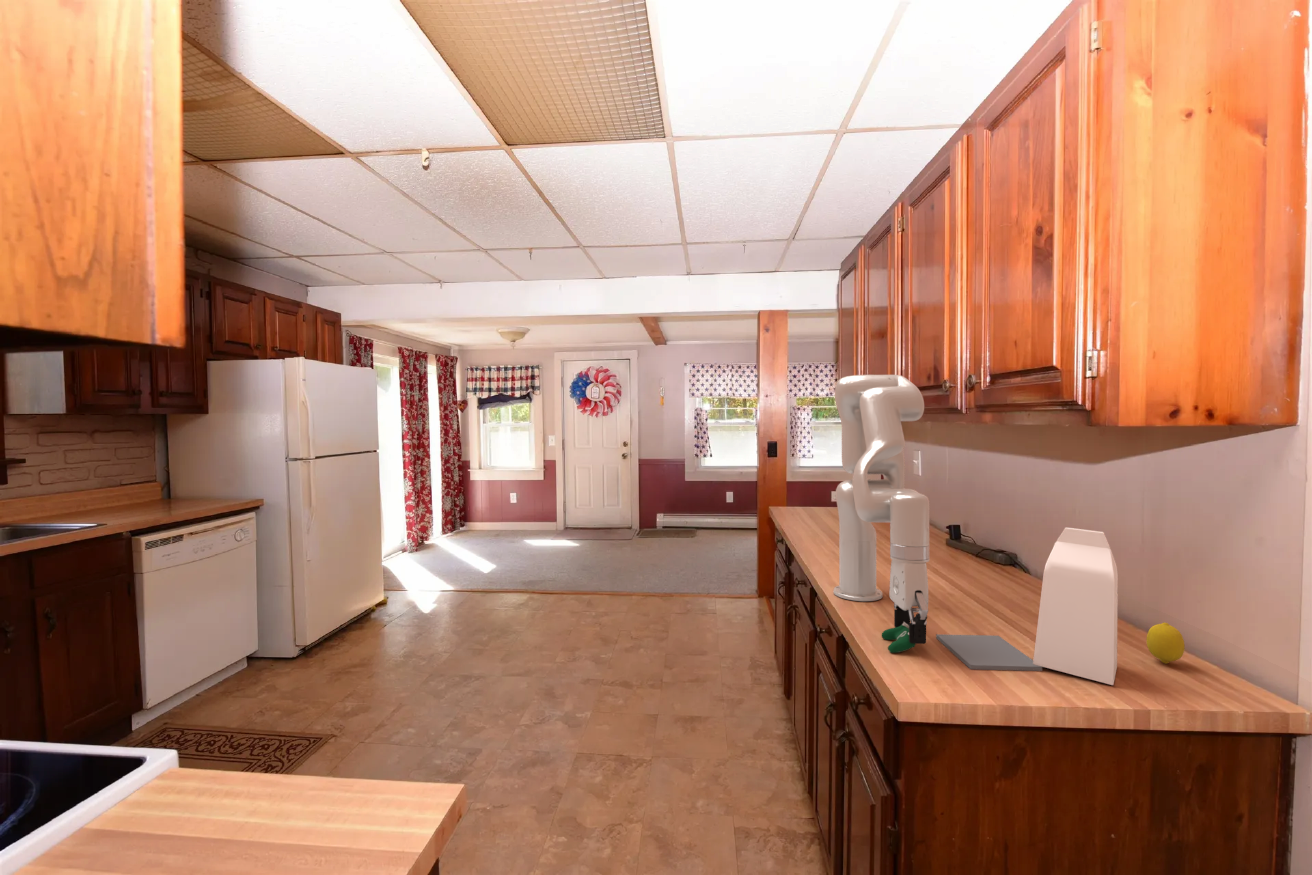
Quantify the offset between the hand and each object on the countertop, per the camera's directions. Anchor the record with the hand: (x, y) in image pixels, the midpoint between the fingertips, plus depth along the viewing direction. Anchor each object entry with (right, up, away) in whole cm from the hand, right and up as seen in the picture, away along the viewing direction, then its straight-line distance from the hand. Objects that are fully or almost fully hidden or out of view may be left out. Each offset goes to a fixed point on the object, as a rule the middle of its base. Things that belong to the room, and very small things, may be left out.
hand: (909, 634), depth 120 cm
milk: (+27, -2, -11) cm, 29 cm away
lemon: (+45, -3, -9) cm, 46 cm away
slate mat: (+14, -3, -4) cm, 14 cm away
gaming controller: (-2, -3, 0) cm, 3 cm away
